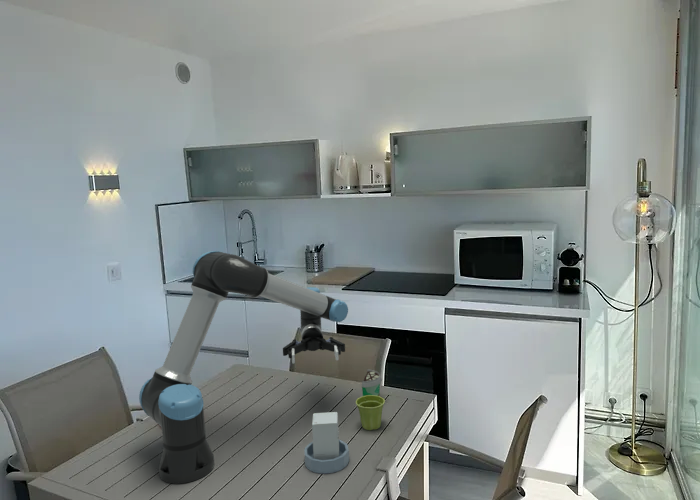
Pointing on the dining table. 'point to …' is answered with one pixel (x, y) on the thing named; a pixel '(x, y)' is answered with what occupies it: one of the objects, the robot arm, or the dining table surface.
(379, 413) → the plant pot
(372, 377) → the food container
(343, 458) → the bowl
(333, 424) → the supplement box
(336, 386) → the dining table surface
